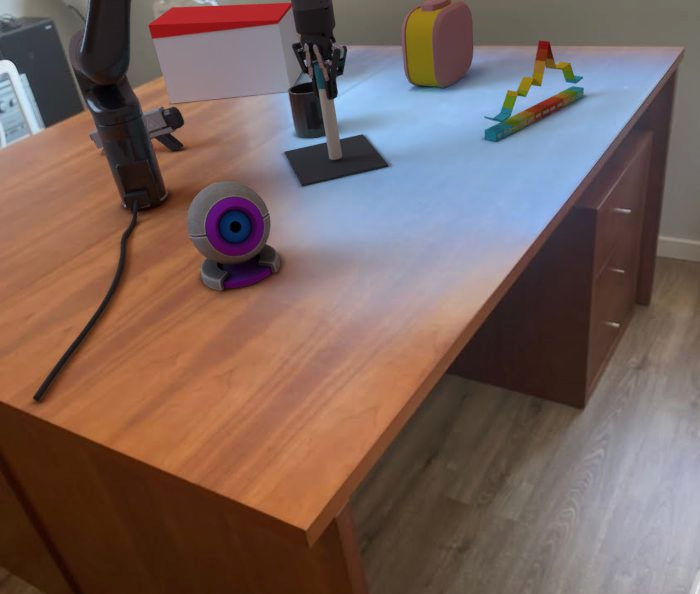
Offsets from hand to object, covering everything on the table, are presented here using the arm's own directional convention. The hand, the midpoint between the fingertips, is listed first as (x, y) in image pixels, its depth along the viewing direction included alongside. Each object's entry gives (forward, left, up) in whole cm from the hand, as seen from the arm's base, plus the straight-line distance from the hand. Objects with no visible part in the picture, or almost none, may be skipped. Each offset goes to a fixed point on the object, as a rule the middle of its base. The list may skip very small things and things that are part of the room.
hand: (326, 96), depth 143 cm
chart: (0, -45, -14) cm, 47 cm away
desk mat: (+2, 0, -14) cm, 14 cm away
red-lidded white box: (+73, +12, -14) cm, 75 cm away
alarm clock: (+38, -37, -14) cm, 55 cm away
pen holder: (+22, 0, -14) cm, 26 cm away
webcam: (-36, +25, -14) cm, 46 cm away
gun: (+34, +40, -14) cm, 54 cm away
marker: (0, 0, -13) cm, 13 cm away
